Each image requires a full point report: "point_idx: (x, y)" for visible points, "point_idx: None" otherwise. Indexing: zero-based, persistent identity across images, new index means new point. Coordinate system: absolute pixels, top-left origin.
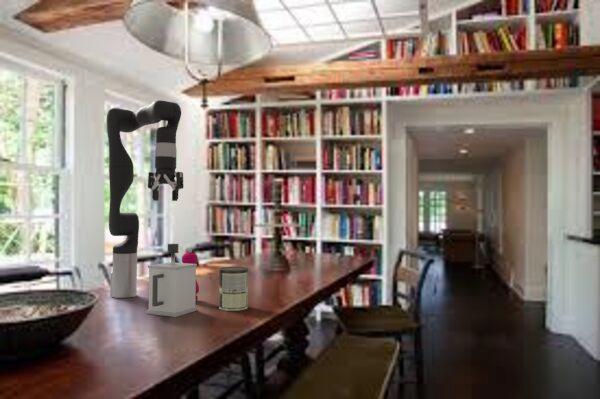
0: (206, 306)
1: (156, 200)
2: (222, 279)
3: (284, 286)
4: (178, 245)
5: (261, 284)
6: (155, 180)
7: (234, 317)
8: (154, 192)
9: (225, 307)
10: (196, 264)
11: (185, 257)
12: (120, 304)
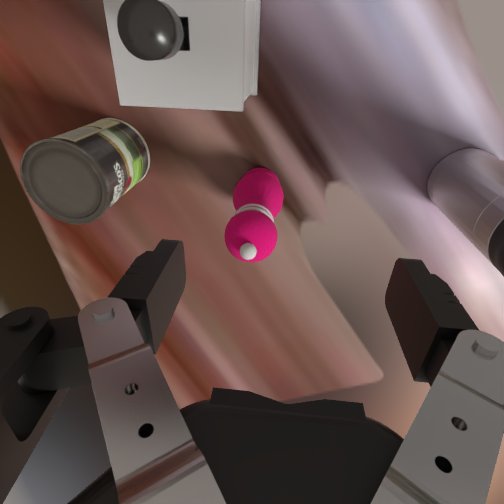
0: (182, 144)
1: (391, 278)
2: (84, 137)
3: (181, 379)
4: (127, 46)
5: (231, 386)
6: (489, 455)
7: (37, 49)
8: (432, 308)
9: (109, 119)
10: (119, 100)
11: (249, 217)
12: (412, 71)
